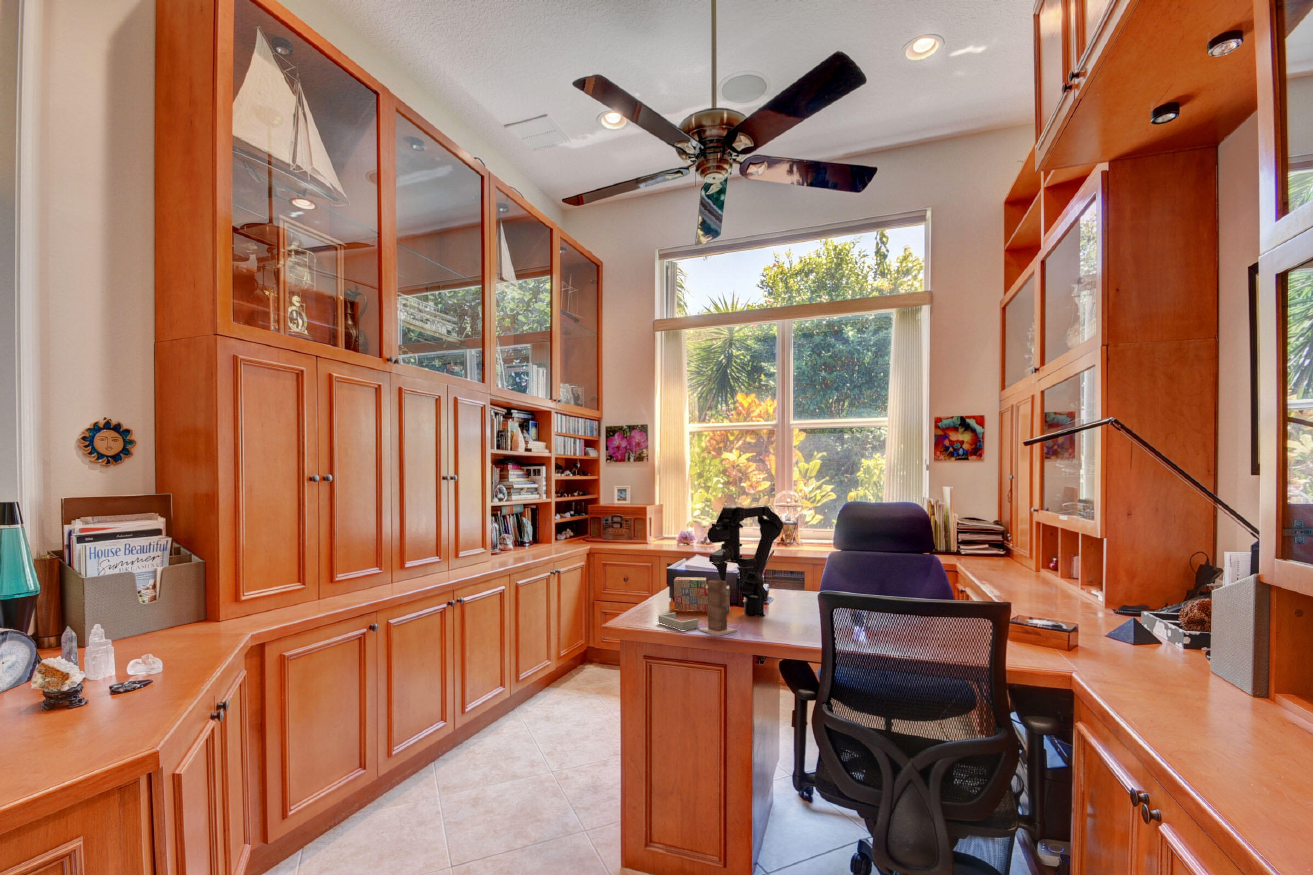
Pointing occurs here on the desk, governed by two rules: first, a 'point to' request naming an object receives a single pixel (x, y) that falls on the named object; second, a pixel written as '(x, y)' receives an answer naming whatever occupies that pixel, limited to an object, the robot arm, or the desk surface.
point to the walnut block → (717, 605)
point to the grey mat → (729, 630)
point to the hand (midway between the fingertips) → (732, 584)
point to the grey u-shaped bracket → (677, 622)
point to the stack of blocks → (693, 594)
